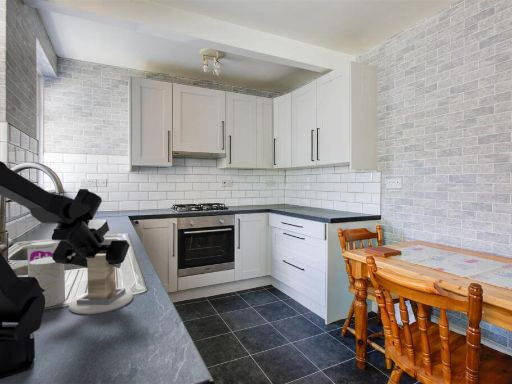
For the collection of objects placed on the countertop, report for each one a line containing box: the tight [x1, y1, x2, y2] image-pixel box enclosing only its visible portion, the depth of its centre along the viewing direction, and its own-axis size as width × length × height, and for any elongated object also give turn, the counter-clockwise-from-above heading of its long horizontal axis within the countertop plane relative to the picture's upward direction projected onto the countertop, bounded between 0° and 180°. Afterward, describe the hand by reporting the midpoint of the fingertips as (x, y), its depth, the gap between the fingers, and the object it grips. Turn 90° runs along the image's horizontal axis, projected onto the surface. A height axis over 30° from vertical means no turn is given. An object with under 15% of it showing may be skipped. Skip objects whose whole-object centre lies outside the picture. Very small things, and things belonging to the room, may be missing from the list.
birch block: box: [86, 254, 116, 299], centre depth 83 cm, size 5×5×13 cm
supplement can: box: [27, 240, 59, 277], centre depth 93 cm, size 8×8×15 cm
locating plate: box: [68, 281, 133, 315], centre depth 83 cm, size 16×16×4 cm
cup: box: [29, 257, 66, 308], centre depth 83 cm, size 8×8×12 cm
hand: (104, 266), depth 84 cm, fingers open, 9 cm apart
